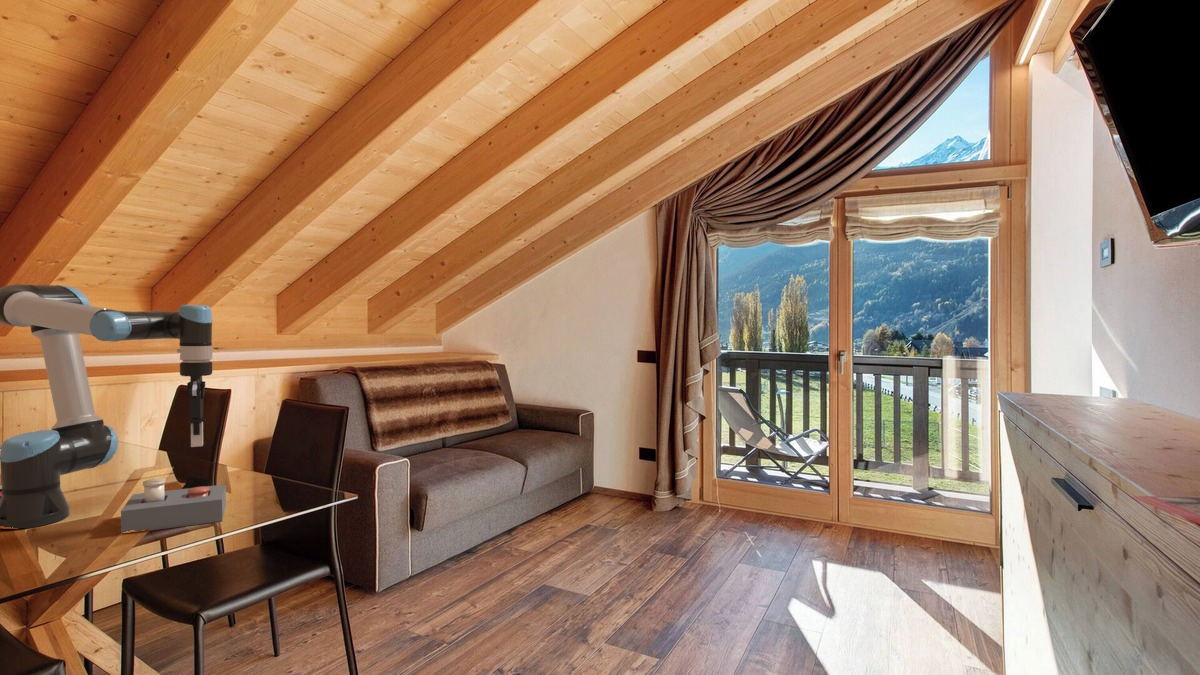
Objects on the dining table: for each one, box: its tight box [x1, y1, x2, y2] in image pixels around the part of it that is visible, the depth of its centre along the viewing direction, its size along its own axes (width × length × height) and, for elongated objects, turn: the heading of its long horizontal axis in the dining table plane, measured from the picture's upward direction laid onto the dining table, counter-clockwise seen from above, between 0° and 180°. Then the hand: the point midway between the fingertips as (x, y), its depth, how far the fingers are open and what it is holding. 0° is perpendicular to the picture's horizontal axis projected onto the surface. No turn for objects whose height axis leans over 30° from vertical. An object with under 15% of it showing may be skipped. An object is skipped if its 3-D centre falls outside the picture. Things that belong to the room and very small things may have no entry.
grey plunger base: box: [120, 484, 227, 533], centre depth 170 cm, size 16×22×6 cm
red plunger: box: [188, 486, 209, 498], centre depth 172 cm, size 5×5×7 cm
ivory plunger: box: [142, 478, 167, 503], centre depth 167 cm, size 5×5×7 cm
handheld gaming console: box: [181, 475, 212, 489], centre depth 187 cm, size 12×7×10 cm
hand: (197, 445), depth 171 cm, fingers closed
